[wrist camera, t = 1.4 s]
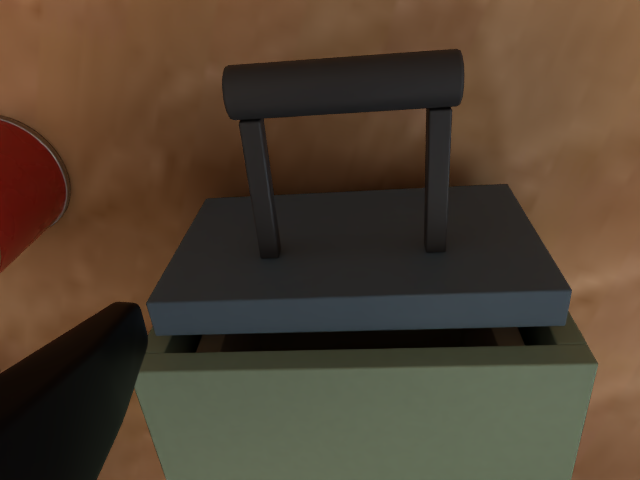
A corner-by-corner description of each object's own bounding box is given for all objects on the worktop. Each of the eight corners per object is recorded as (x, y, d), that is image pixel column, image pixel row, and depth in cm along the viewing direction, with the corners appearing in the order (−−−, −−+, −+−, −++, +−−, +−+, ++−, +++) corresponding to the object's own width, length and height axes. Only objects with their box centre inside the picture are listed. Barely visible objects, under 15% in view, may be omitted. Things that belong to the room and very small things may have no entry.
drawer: (174, 43, 18) (82, 96, 12) (524, 16, 17) (616, 60, 11) (260, 461, 28) (234, 600, 22) (479, 461, 27) (513, 607, 21)
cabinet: (204, 226, 22) (128, 372, 15) (513, 212, 21) (599, 363, 14) (259, 480, 30) (227, 657, 23) (483, 480, 29) (526, 667, 22)
